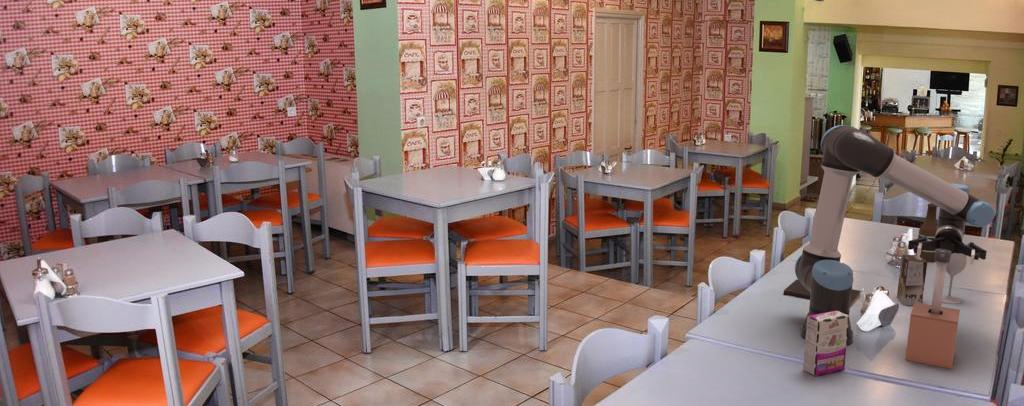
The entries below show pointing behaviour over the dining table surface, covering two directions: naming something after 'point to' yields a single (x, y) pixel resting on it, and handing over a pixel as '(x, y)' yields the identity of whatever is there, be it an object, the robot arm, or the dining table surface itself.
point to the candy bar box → (825, 343)
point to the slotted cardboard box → (932, 335)
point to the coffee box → (911, 279)
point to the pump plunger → (939, 278)
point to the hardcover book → (801, 292)
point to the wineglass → (953, 269)
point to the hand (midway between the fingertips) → (945, 256)
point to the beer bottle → (929, 231)
